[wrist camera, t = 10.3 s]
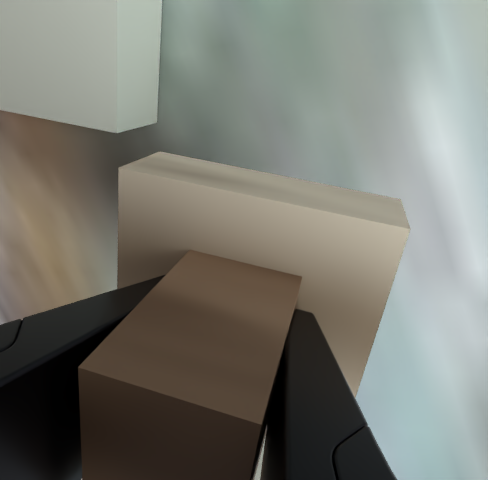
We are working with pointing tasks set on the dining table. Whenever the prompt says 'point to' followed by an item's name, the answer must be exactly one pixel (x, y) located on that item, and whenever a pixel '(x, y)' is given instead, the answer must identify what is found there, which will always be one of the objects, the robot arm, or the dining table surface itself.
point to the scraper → (226, 311)
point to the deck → (81, 61)
